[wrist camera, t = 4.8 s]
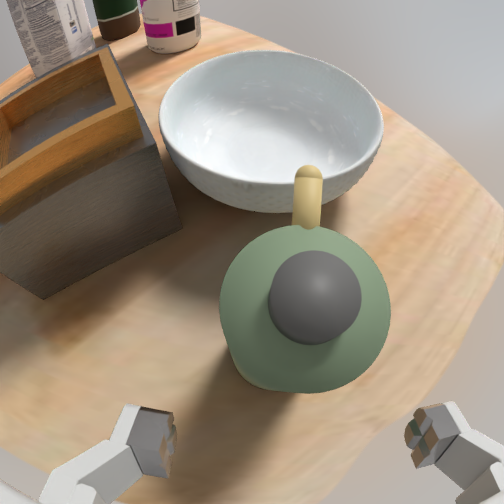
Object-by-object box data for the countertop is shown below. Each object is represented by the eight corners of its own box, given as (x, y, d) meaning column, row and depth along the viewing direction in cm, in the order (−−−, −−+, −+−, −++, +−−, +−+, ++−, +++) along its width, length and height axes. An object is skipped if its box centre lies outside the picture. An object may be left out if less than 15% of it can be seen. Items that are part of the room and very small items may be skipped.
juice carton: (71, 86, 32) (27, -66, 8) (33, 88, 34) (-12, -38, 9) (107, 55, 36) (78, -83, 12) (66, 59, 37) (33, -59, 13)
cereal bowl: (239, 88, 31) (240, 35, 25) (377, 145, 28) (401, 93, 21) (134, 186, 24) (109, 126, 18) (311, 283, 21) (340, 234, 15)
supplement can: (149, 60, 34) (134, -30, 21) (148, 41, 38) (136, -36, 24) (205, 49, 36) (200, -42, 22) (196, 31, 39) (191, -46, 25)
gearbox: (19, 313, 19) (-77, 256, 9) (10, 172, 25) (-36, 106, 15) (182, 228, 23) (147, 111, 12) (126, 109, 29) (103, 25, 19)
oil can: (314, 390, 18) (412, 386, 7) (229, 388, 18) (208, 391, 7) (314, 282, 21) (381, 168, 10) (236, 278, 21) (231, 153, 10)
